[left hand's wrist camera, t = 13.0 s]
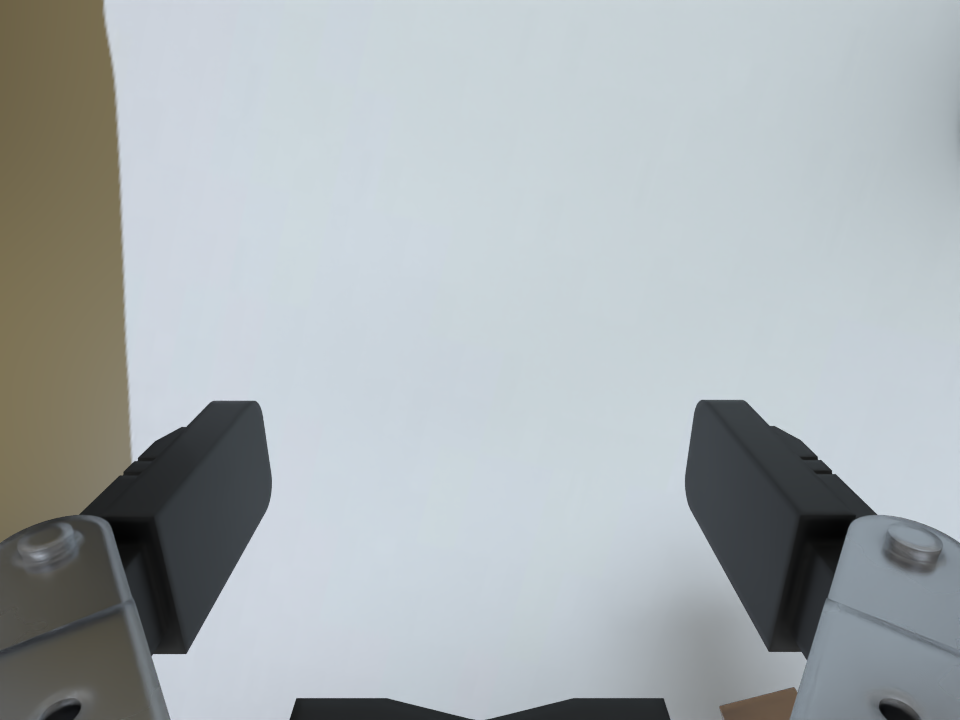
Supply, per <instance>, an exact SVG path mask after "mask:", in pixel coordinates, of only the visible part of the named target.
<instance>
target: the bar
mask: <svg viewBox="0 0 960 720" xmlns="http://www.w3.org/2000/svg"><path fill="white" fill-rule="evenodd" d="M796 697H797V691H796V689H795V688H794V687H793V688H789V689H785V690H781V691H777V692H773V693H769V694H765V695H761V696H757V697H753V698H749V699H745V700H741V701H738V702H734V703H730V704H726V705H722V706H720V707H719V708H720V711H721V714H722V718H723V720H790V717H791V713H792V710H793V707H794V703H795V700H796Z"/></svg>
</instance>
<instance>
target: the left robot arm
mask: <svg viewBox="0 0 960 720" xmlns="http://www.w3.org/2000/svg"><path fill="white" fill-rule="evenodd" d="M271 489H272V477H271V469H270V462H269V455H268V448H267V442H266V435H265V428H264V421H263V415H262V410H261V408H260V405H259V404H258V403H257V402H256V401H212V402H211V403H209V404H208V405H207V406H206V407H205V408H204V409H203V411H202V412H201V413H200V414H199V415H198V416H197V417H196V418H195V419H194V420H193V421H192V422H191V423H190V424H189V425H188V426H187V427H181V428H179V429H177V430H175V431H173V432H172V433H170V434H168V435H166V436H164V437H162V438H160V439H159V440H157V441H155V442H154V443H153V444H152V445H151V446H150V447H149V448H148V449H147V450H146V451H145V452H144V453H143V454H142V455H141V456H140V457H138V461H134V462H133V463H132V464H131V465H130V466H129V467H128V468H127V469H126V470H125V471H124V474H123V476H119V477H118V478H117V479H116V480H115V481H114V482H113V483H112V484H111V485H109V486H108V487H107V488H106V489H105V490H104V491H103V492H102V493H101V494H100V495H99V496H98V497H97V498H96V499H95V500H94V501H93V502H92V503H91V504H90V505H89V506H88V507H87V508H86V509H85V510H84V511H83V512H81V513H80V514H79V515H73V516H65V517H60V518H55V519H51V520H48V521H44V522H41V523H38V524H36V525H33V526H31V527H28V528H26V529H24V530H22V531H20V532H18V533H16V534H14V535H12V536H10V537H9V538H7V539H5V540H4V541H2V542H1V543H0V720H170V717H169V713H168V710H167V707H166V703H165V700H164V697H163V693H162V690H161V687H160V683H159V680H158V677H157V673H156V670H155V667H154V663H153V660H152V657H151V656H152V655H153V654H187V652H188V650H189V648H190V646H191V645H192V643H193V641H194V639H195V637H196V636H197V634H198V632H199V630H200V629H201V627H202V625H203V623H204V621H205V620H206V618H207V616H208V614H209V612H210V611H211V609H212V607H213V605H214V603H215V602H216V600H217V598H218V596H219V595H220V593H221V591H222V589H223V587H224V586H225V584H226V582H227V580H228V578H229V577H230V575H231V573H232V571H233V569H234V568H235V566H236V564H237V562H238V561H239V559H240V557H241V555H242V553H243V552H244V550H245V548H246V546H247V544H248V543H249V541H250V539H251V537H252V535H253V534H254V532H255V530H256V528H257V527H258V525H259V523H260V521H261V519H262V518H263V516H264V514H265V512H266V510H267V508H268V505H269V502H270V497H271ZM685 490H686V497H687V501H688V505H689V507H690V510H691V511H692V513H693V515H694V517H695V519H696V521H697V522H698V524H699V526H700V528H701V530H702V531H703V533H704V535H705V537H706V539H707V540H708V542H709V544H710V546H711V548H712V550H713V551H714V553H715V555H716V557H717V559H718V560H719V562H720V564H721V566H722V568H723V569H724V571H725V573H726V575H727V577H728V579H729V580H730V582H731V584H732V586H733V588H734V589H735V591H736V593H737V595H738V597H739V598H740V600H741V602H742V604H743V606H744V607H745V609H746V611H747V613H748V615H749V617H750V618H751V620H752V622H753V624H754V626H755V627H756V629H757V631H758V633H759V635H760V636H761V638H762V640H763V642H764V644H765V646H766V647H767V649H768V651H769V652H802V653H803V655H804V656H805V658H806V659H807V663H806V667H805V670H804V673H803V677H802V680H801V683H800V687H799V690H798V693H797V697H796V700H795V703H794V707H793V710H792V713H791V717H790V720H960V543H959V542H958V541H956V540H955V539H953V538H951V537H950V536H948V535H946V534H944V533H942V532H940V531H938V530H936V529H934V528H932V527H929V526H927V525H924V524H922V523H919V522H916V521H912V520H909V519H905V518H900V517H895V516H887V515H877V514H876V513H875V512H874V511H873V510H872V509H871V508H870V507H869V506H868V505H867V504H866V503H865V502H864V501H863V500H862V499H861V498H860V497H859V496H858V495H856V494H855V493H854V492H853V491H852V490H851V489H850V488H849V487H848V486H847V485H846V484H845V483H844V482H843V481H842V480H841V479H840V478H839V477H838V476H837V475H836V474H832V470H831V469H830V468H829V467H828V466H827V465H826V464H825V463H824V462H823V461H822V460H818V457H817V456H816V455H815V454H814V453H813V452H812V451H811V450H810V449H809V448H808V447H807V446H806V445H805V444H804V443H803V442H802V441H801V440H799V439H797V438H796V437H794V436H792V435H790V434H788V433H786V432H785V431H783V430H781V429H779V428H777V427H775V426H769V425H768V424H767V423H766V422H765V421H764V420H763V419H762V418H761V417H760V416H759V414H758V413H757V412H756V411H755V410H754V409H753V408H752V407H751V406H750V405H749V404H748V403H747V402H746V401H744V400H701V401H699V402H698V404H697V406H696V408H695V412H694V418H693V425H692V432H691V439H690V446H689V453H688V460H687V467H686V474H685ZM290 720H473V719H468V718H464V717H460V716H456V715H452V714H448V713H444V712H440V711H436V710H432V709H428V708H424V707H420V706H416V705H412V704H407V703H403V702H399V701H395V700H391V699H387V698H296V701H295V705H294V708H293V711H292V714H291V717H290ZM487 720H670V717H669V714H668V711H667V708H666V705H665V701H664V698H573V699H569V700H565V701H561V702H557V703H553V704H548V705H544V706H540V707H536V708H532V709H528V710H524V711H520V712H516V713H512V714H508V715H504V716H500V717H496V718H492V719H487Z"/></svg>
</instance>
